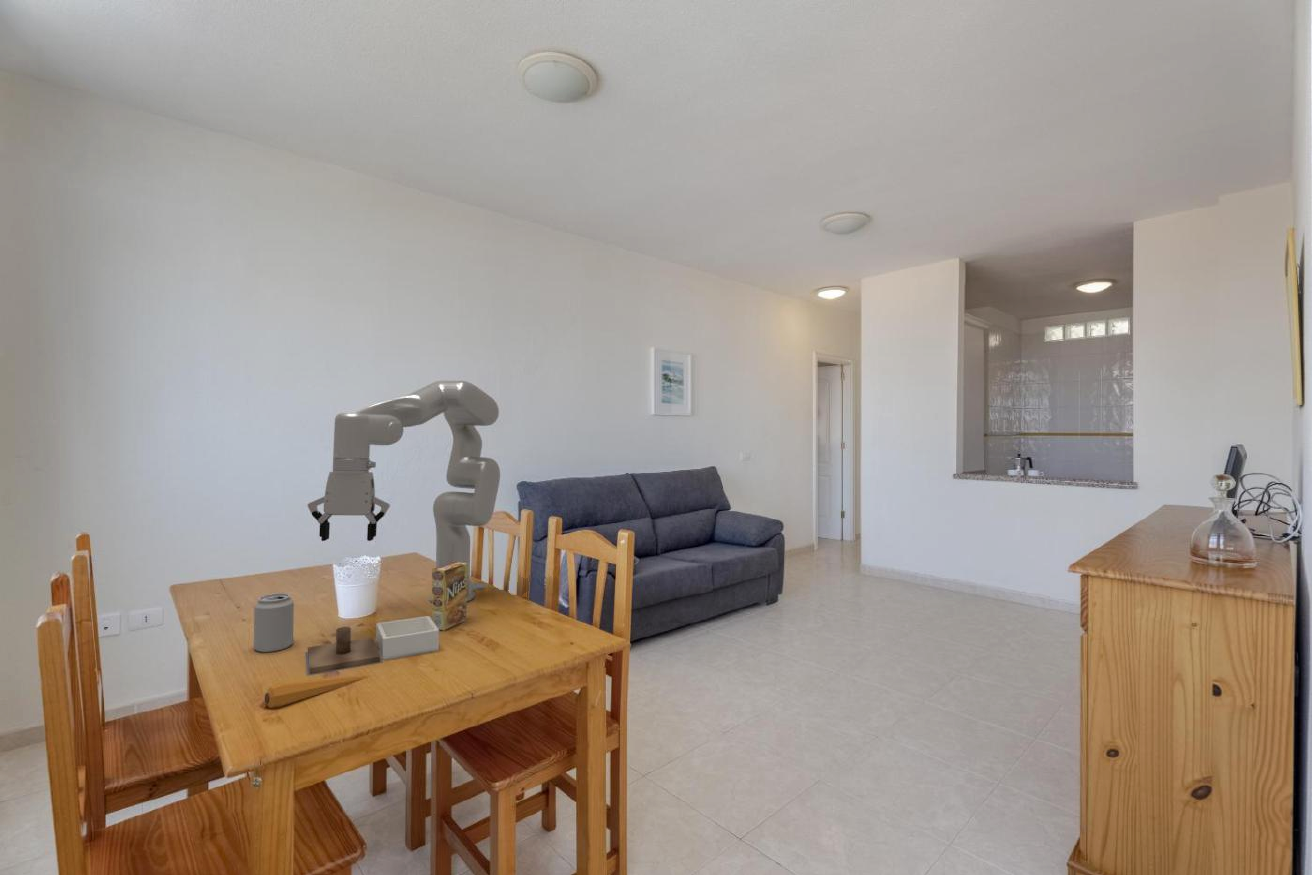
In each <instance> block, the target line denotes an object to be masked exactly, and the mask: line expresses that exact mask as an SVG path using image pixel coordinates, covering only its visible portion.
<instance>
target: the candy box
mask: <svg viewBox="0 0 1312 875" xmlns="http://www.w3.org/2000/svg"><path fill="white" fill-rule="evenodd" d="M431 574H432V575H431V577H432V578H431V594H432V601H431V619H432V621H433V622H434V624H435V625H436V627H437V628H438V629H439V631H446V630H448V629H450V628H452V627H455V626H456V625H460V624H461V623H464V622H467V603H468V601H467V563H460V562H453V563H451V564H447V565H444V566H441V567H438V568H436V567H435V568H432V570H431Z"/></svg>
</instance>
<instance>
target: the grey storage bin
mask: <svg viewBox="0 0 1312 875" xmlns="http://www.w3.org/2000/svg"><path fill="white" fill-rule="evenodd" d="M375 627H376V628H375V629H376V634H375V639H376V640H375V644H376V646H377V649H378V652H379V654H380V657H381V660H382V661H388V660H393V659H400V658H405V657H411V656H417V655H423V654H428V653H433V652H439V651H440V647H439V646H440V630H439V629H438V628H437V627H436V625H435V624H434V622H433V621H432V617H431V616H430V615H426V616H425V615H424V616H418V617H411V618H405V619H395V620H389V621H382V622H377V623H376V626H375Z"/></svg>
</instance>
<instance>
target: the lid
mask: <svg viewBox="0 0 1312 875" xmlns="http://www.w3.org/2000/svg"><path fill="white" fill-rule="evenodd" d="M335 630H336V633H335V634H336V635H335V637H336V638H335V643H334V642H333V643H327V644H320V645H315V646H308V647H307V652H308V661H309V674H314V673H319V672H325V671H331V670H337V669H342V668H348V667H354V666H360V665H365V664H371V663H377V662H380V657H381V655H380V656H379V654H380V652H379V649H378V647H377V648H376V646H377V644H376V641H375V640H374V637H372V636H371V637H367V638H359V639H354V640H351V639H352V638H351V637H352V636H351V635H352V634H351V633H352V631H351V630H352V628H351V627H349V626H342V627H338V628H336V629H335ZM374 641H375V642H374ZM375 644H376V645H375ZM377 649H378V650H377ZM378 652H379V653H378ZM377 664H378V663H377ZM360 667H361V666H360ZM337 671H338V670H337Z"/></svg>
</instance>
